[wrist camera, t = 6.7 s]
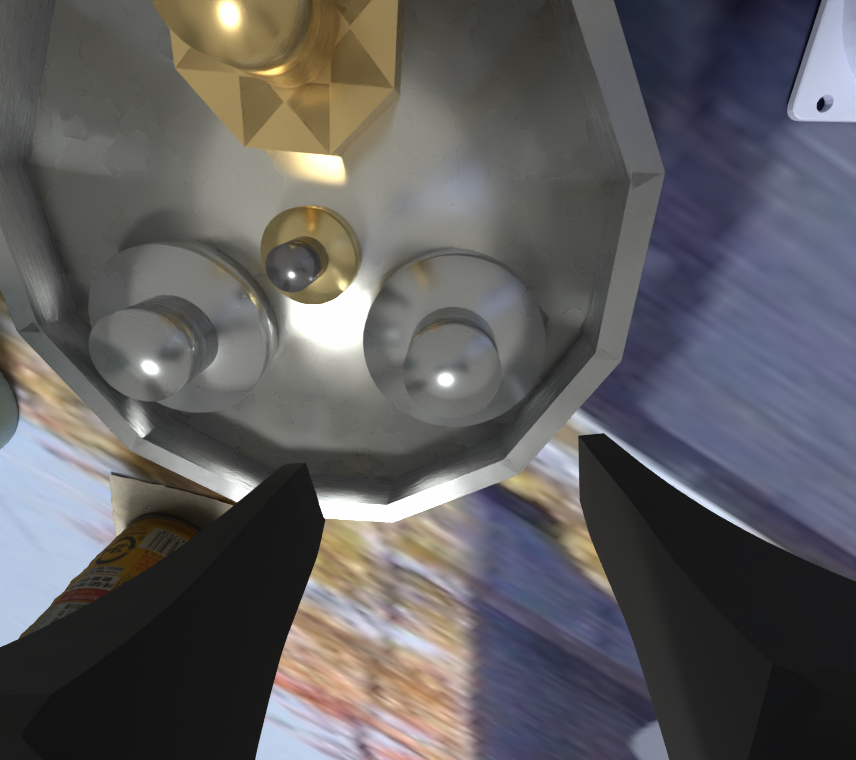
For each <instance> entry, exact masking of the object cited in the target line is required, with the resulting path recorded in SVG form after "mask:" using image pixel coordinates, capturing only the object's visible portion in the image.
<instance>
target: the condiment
mask: <svg viewBox="0 0 856 760" xmlns="http://www.w3.org/2000/svg"><path fill="white" fill-rule="evenodd" d="M109 477H110V490H111V503H112V507H113V512H112V513H113V517H114V525H115V530H116V538H115V539H114V540H113V541H112V542H111V543H110V544H109V545H108V546H107V547H106V548H105V549H104V550H103V551H102V552H101V553H99V554H98V555H97V556H96V557H95V559H93V560H92V561H91V562H90V564H89V566H88V567H87V568H86V569H85V570H84V571H83V572H82V573H81V574H80V575H78V576H77V577H75V578H74V579H73V580H72V581H71V582H70V584H69V585H68V587H67V588H66V590H65V591H64V592H63V593H62V594H61V595H60V596H58V597H57V598H55V600H54V601H53V603H52V604H51V606H50V607H49V608H48V609H47V610H46V611H45V612H44V613H43V614H42V615H41V616H40V617H39V618H38V619H37V620H36V621H35V623H34V624H32V625H31V626H30V627H29V628H28V629H27V630H26V631H25V632H23V633H22V634H21V635H20V637H19V639H20V638H22V637H24V636H26V635H28V634H30V633H33V632H35V631H37V630H39V629H41V628H43V627H45V626H47V625H49V624H51V623H53V622H55V621H57V620H59V619H61V618H63V617H65V616H66V615H68V614H70V613H72V612H74V611H76V610H78V609H80V608H81V607H83V606H85V605H87V604H89V603H91V602H93V601H94V600H96V599H98V598H100V597H101V596H103V595H105V594H106V593H108V592H110V591H111V590H113V589H115V588H117V587H118V586H120V585H122V584H123V583H125V582H127V581H128V580H130V579H132V578H134V577H135V576H137V575H139V574H140V573H142V572H143V571H145V570H146V569H148V568H150V567H151V566H153V565H154V564H156V563H157V562H159V561H160V560H162V559H163V558H165V557H166V556H168V555H169V554H171V553H172V552H173V551H175V550H176V549H178V548H179V547H181V546H182V545H183V544H185V543H186V542H187V541H189V540H190V539H191V538H193V537H194V536H195V535H197V534H198V533H199V532H201V531H202V530H203V529H204V528H206V527H207V526H208V525H210V524H211V523H212V522H214V521H215V520H216V519H217V518H219V517H220V516H221V515H223V514H224V513H225V512H226V511H228V510H229V509H230V508H231V507H232V506H233V505H230V504H227V503H223V502H220V501H218V500H216V499H211V498H208V497H204V496H200V495H195V494H192V493H190V492H186V491H181V490H177V489H172V488H168V487H166V486H165V485H156V484H149V483H145V482H141V481H139V480H135V479H128V478H123V477H118V476H114V475H110V474H109ZM149 506H152V508H150V509H148V507H149ZM144 510H148V511H147V512H145V511H144Z"/></svg>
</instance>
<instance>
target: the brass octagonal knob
mask: <svg viewBox="0 0 856 760" xmlns="http://www.w3.org/2000/svg"><path fill="white" fill-rule="evenodd" d="M152 2H153V4H154V6H155V8H156V10H157V11H158V13H159V15H160V16H161V18H162V19H163V20H164V22H165V23H166V24H167V26H168V27H169V28H170V36H171V43H172V51H173V58H174V65H175V69H176V70H177V71H178V72H179V73H180V75H181V76H182V77H183V78H184V79H185V80H186V81H187V83H188V84H189V85H190V86H191V87H192V88H193V89H194V90H195V92H196V93H197V94H198V95H199V96H200V97H201V98H202V100H203V101H204V102H205V103H206V104H207V105H208V106H209V107H210V109H211V110H212V111H213V112H214V113H215V114H216V115H217V117H218V118H219V119H220V120H221V121H222V122H223V123H224V124H225V126H226V127H227V128H228V129H229V130H230V131H231V132H232V134H233V135H234V136H235V137H236V138H237V139H238V140H239V141H240V143H241V144H242V145H243V146H244V147H247V148H257V149H267V150H277V151H288V152H298V153H308V154H318V155H329V156H339V157H341V156H342V155H343V154H344V153H345V152H346V151H347V150H348V149H349V148H350V147H351V146H352V145H353V144H354V143H355V142H356V141H357V140H358V139H359V138H360V137H361V136H362V135H363V134H364V133H365V131H366V130H367V129H368V128H369V127H370V126H371V125H372V124H373V123H374V122H375V121H376V120H377V119H378V118H379V117H380V116H381V115H382V114H383V113H384V112H385V111H386V110H387V109H388V108H389V107H390V106H391V105H392V104H393V103H394V102H395V101H396V100H397V99H398V98H399V96H400V85H401V65H402V45H403V26H404V6H405V0H152Z"/></svg>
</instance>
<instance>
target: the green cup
mask: <svg viewBox="0 0 856 760" xmlns="http://www.w3.org/2000/svg"><path fill="white" fill-rule="evenodd" d="M17 422H18V409H17V403H16V400H15V397H14V394H13V392H12V390H11V388H10V386H9V384H8V382H7V380H6V379H5V377H4V376H3V374H2V372H1V371H0V449H1V448H2V447H3V446H4V445H5V444H6V443H7V442H8V441H9V440H10V439H11V438H12V436H13V435H14V433H15V430H16V428H17Z"/></svg>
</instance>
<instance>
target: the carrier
mask: <svg viewBox="0 0 856 760" xmlns="http://www.w3.org/2000/svg"><path fill="white" fill-rule="evenodd" d="M664 172H665V171H664V167H663V164H662V160H661V157H660V154H659V150H658V147H657V144H656V140H655V137H654V134H653V130H652V127H651V124H650V120H649V117H648V114H647V110H646V107H645V103H644V100H643V97H642V93H641V90H640V87H639V83H638V80H637V77H636V73H635V70H634V67H633V63H632V60H631V57H630V53H629V50H628V46H627V43H626V40H625V36H624V33H623V30H622V26H621V23H620V20H619V16H618V13H617V10H616V6H615V3H614V0H405V6H404V26H403V45H402V65H401V85H400V96H399V98H398V99H397V100H396V101H395V102H394V103H393V104H392V105H391V106H390V107H389V108H388V109H387V110H386V111H385V112H384V113H383V114H382V115H381V116H380V117H379V118H378V119H377V120H376V121H375V122H374V123H373V124H372V125H371V126H370V127H369V128H368V129H367V130H366V131H365V133H364V134H363V135H362V136H361V137H360V138H359V139H358V140H357V141H356V142H355V143H354V144H353V145H352V146H351V147H350V148H349V149H348V150H347V151H346V152H345V153H344V154H343V155H342V156H341V157H339V156H329V155H318V154H308V153H298V152H288V151H277V150H267V149H257V148H247V147H244V146H243V145H242V144H241V143H240V141H239V140H238V139H237V138H236V137H235V136H234V135H233V134H232V132H231V131H230V130H229V129H228V128H227V127H226V126H225V124H224V123H223V122H222V121H221V120H220V119H219V118H218V117H217V115H216V114H215V113H214V112H213V111H212V110H211V109H210V107H209V106H208V105H207V104H206V103H205V102H204V101H203V100H202V98H201V97H200V96H199V95H198V94H197V93H196V92H195V90H194V89H193V88H192V87H191V86H190V85H189V84H188V83H187V81H186V80H185V79H184V78H183V77H182V76H181V75H180V73H179V72H178V71H177V70H176V69H175V65H174V58H173V51H172V43H171V36H170V28H169V27H168V26H167V24H166V23H165V22H164V20H163V19H162V18H161V16H160V15H159V13H158V11H157V10H156V8H155V6H154V4H153V2H152V0H0V290H1V292H2V295H3V297H4V300H5V302H6V305H7V307H8V310H9V312H10V315H11V317H12V320H13V322H14V325H15V327H16V330H17V332H18V333H19V334H20V335H21V336H22V338H23V339H24V340H25V341H26V342H27V343H28V344H29V345H30V346H31V347H32V348H33V349H34V350H35V351H36V352H37V353H38V354H39V355H40V356H41V357H42V359H43V360H44V361H45V362H46V363H47V364H48V365H49V366H50V367H51V368H52V369H53V370H54V371H55V372H56V373H57V374H58V375H59V376H60V377H61V378H62V379H63V381H64V382H65V383H66V384H67V385H68V386H69V387H70V388H71V389H72V390H73V391H74V392H75V393H76V394H77V395H78V396H79V397H80V398H81V399H82V400H83V402H84V403H85V404H86V405H87V406H88V407H89V408H90V409H91V410H92V411H93V412H94V413H95V414H96V415H97V416H98V417H99V418H100V419H101V420H102V421H103V423H104V424H105V425H106V426H107V427H108V428H109V429H110V430H111V431H112V432H113V433H114V434H115V435H116V436H117V437H118V438H119V439H120V440H121V441H122V442H123V444H124V445H125V446H126V447H127V448H128V449H129V450H130V451H132V452H134V453H136V454H138V455H140V456H142V457H144V458H146V459H148V460H150V461H152V462H154V463H156V464H159V465H161V466H163V467H165V468H167V469H169V470H171V471H173V472H175V473H177V474H179V475H181V476H183V477H186V478H188V479H190V480H192V481H194V482H196V483H198V484H200V485H202V486H204V487H206V488H208V489H210V490H213V491H215V492H217V493H219V494H221V495H223V496H225V497H227V498H229V499H231V500H233V501H235V502H238V501H240V500H241V499H242V498H243V497H244V496H246V495H247V494H248V493H249V492H251V491H252V490H253V489H254V488H255V487H257V486H258V485H259V484H260V483H261V482H263V481H264V480H265V479H266V478H267V477H269V476H270V475H271V474H272V473H274V472H275V471H276V470H278V469H279V468H280V467H282V466H283V465H285V464H295V463H306V465H307V468H308V471H309V474H310V477H311V480H312V483H313V486H314V488H315V491H316V494H317V497H318V500H319V503H320V506H321V509H322V512H323V515H324V518H337V519H352V520H367V521H382V522H395V521H398V520H400V519H403V518H405V517H408V516H411V515H413V514H416V513H419V512H421V511H424V510H427V509H429V508H432V507H435V506H437V505H440V504H443V503H445V502H448V501H450V500H453V499H456V498H458V497H461V496H464V495H466V494H469V493H472V492H474V491H477V490H480V489H482V488H485V487H487V486H490V485H493V484H495V483H498V482H501V481H503V480H506V479H509V478H511V477H514V476H517V475H519V474H520V473H521V472H522V471H523V470H524V468H525V467H526V466H527V465H528V464H529V463H530V462H531V461H532V460H533V458H534V457H535V456H536V455H537V454H538V453H539V452H540V451H541V450H542V448H543V447H544V446H545V445H546V444H547V443H548V442H549V441H550V439H551V438H552V437H553V436H554V435H555V434H556V433H557V432H558V431H559V429H560V428H561V427H562V426H563V425H564V424H565V423H566V422H567V421H568V419H569V418H570V417H571V416H572V415H573V414H574V413H575V412H576V411H577V409H578V408H579V407H580V406H581V405H582V404H583V403H584V402H585V401H586V399H587V398H588V397H589V396H590V395H591V394H592V393H593V392H594V391H595V389H596V388H597V387H598V386H599V385H600V384H601V383H602V382H603V381H604V379H605V378H606V377H607V376H608V375H609V374H610V373H611V372H612V371H613V369H614V368H615V367H616V366H617V365H618V364H619V363H620V362H621V360H622V356H623V351H624V347H625V343H626V339H627V334H628V330H629V326H630V321H631V317H632V313H633V308H634V304H635V300H636V296H637V291H638V287H639V283H640V278H641V274H642V270H643V265H644V261H645V257H646V253H647V248H648V244H649V240H650V235H651V231H652V227H653V222H654V218H655V214H656V209H657V205H658V201H659V197H660V192H661V188H662V184H663V179H664V175H665V173H664Z"/></svg>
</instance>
